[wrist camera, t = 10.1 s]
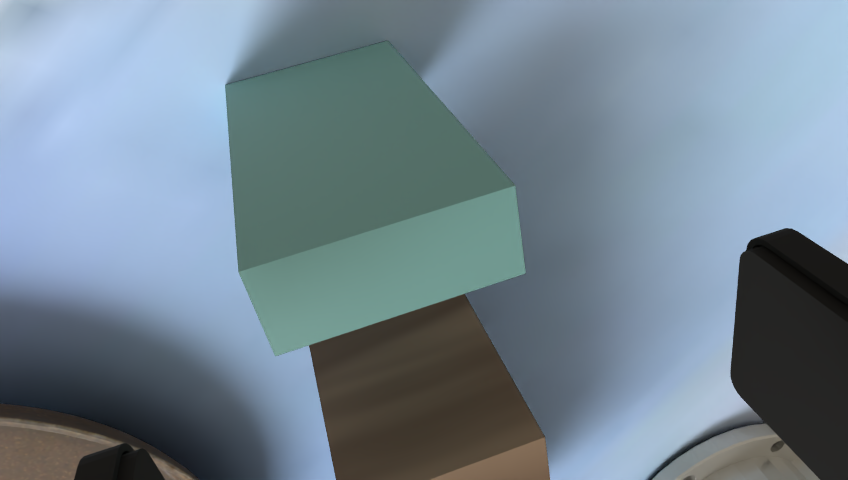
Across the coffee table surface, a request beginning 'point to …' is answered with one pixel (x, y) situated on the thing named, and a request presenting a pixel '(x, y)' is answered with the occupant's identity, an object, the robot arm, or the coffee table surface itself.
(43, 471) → the plant saucer
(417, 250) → the tile
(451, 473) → the domino
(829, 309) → the robot arm
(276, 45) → the coffee table surface
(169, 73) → the coffee table surface
